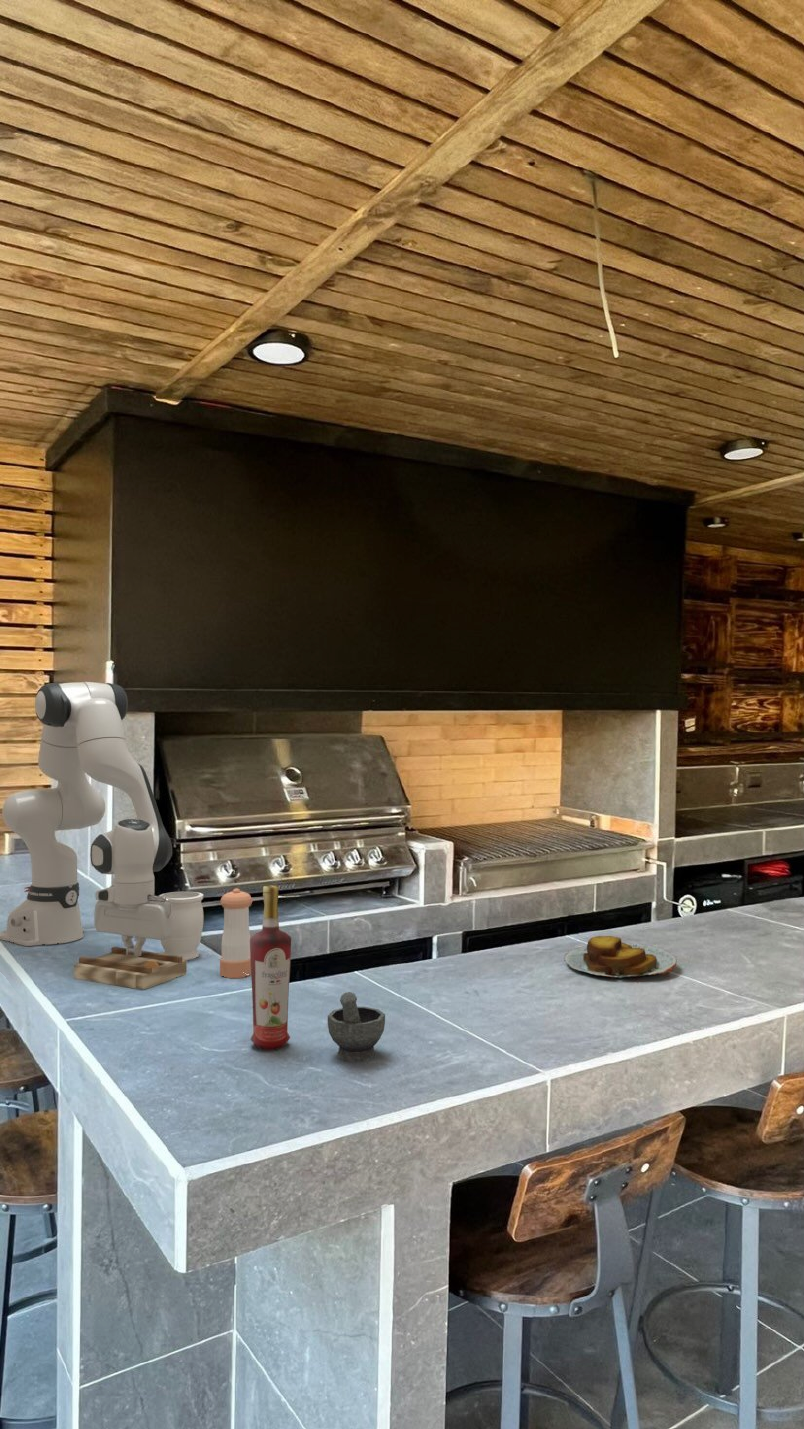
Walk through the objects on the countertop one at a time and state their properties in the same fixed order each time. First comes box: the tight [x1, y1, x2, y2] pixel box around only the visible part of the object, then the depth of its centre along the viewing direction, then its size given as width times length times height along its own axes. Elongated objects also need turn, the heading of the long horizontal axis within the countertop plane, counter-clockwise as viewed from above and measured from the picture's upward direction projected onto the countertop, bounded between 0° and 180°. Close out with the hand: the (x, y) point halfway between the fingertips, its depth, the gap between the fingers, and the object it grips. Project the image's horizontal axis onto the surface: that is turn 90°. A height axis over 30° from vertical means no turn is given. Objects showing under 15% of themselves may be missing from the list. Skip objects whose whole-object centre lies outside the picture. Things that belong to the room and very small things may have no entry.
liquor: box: [250, 885, 292, 1051], centre depth 167 cm, size 7×7×28 cm
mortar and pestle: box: [327, 991, 386, 1063], centre depth 162 cm, size 11×9×12 cm
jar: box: [158, 891, 204, 961], centre depth 228 cm, size 11×10×15 cm
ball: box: [143, 961, 159, 969], centre depth 209 cm, size 4×4×4 cm
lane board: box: [73, 946, 188, 991], centre depth 211 cm, size 20×14×4 cm
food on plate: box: [563, 935, 678, 984], centre depth 220 cm, size 25×25×7 cm
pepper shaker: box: [219, 888, 253, 979], centre depth 213 cm, size 7×7×19 cm
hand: (133, 955), depth 211 cm, fingers closed
